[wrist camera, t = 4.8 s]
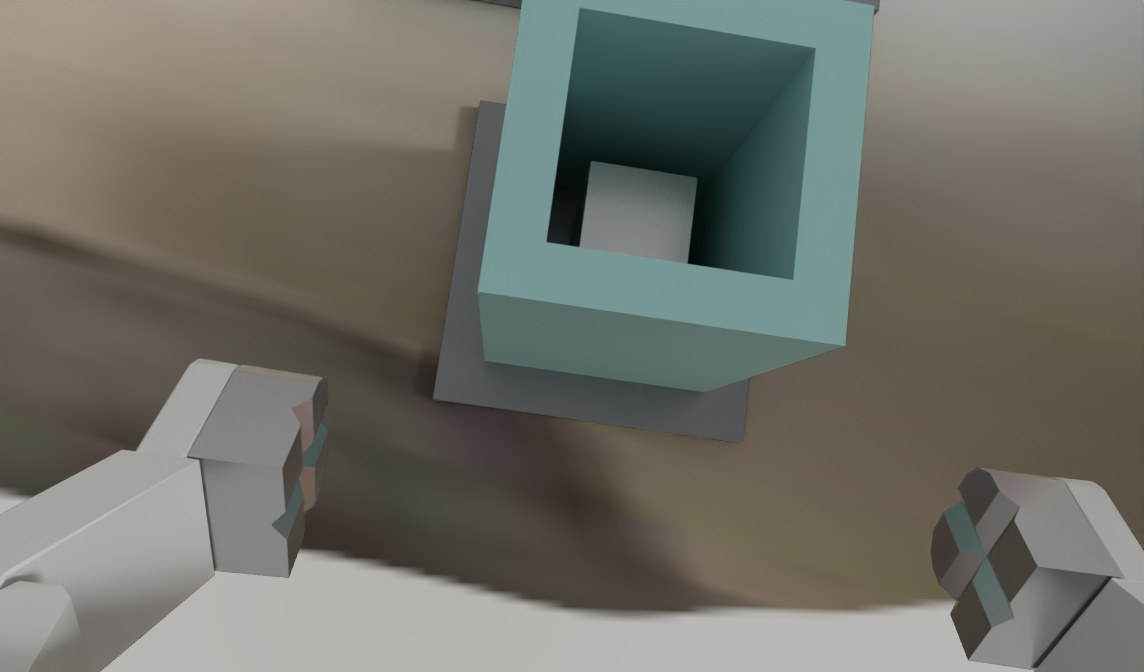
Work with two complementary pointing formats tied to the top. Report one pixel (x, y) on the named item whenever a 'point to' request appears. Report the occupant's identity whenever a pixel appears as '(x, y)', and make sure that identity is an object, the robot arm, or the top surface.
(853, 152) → the collar
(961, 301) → the top surface
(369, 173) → the top surface
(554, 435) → the top surface
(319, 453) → the robot arm
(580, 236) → the square peg base
